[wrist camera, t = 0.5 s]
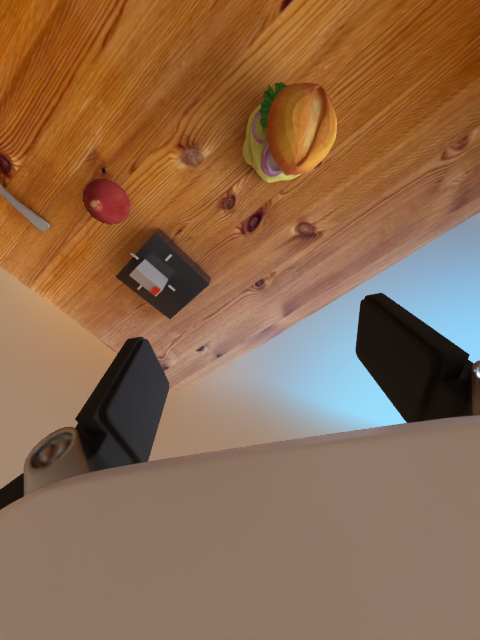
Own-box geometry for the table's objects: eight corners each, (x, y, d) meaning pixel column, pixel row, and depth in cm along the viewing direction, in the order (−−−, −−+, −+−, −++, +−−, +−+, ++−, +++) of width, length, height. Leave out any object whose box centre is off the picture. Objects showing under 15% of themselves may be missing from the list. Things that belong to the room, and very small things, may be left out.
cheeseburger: (230, 110, 31) (254, 74, 22) (300, 89, 32) (349, 47, 23) (248, 192, 36) (274, 189, 27) (308, 172, 37) (351, 162, 28)
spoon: (-25, 145, 31) (-38, 144, 30) (57, 222, 38) (49, 225, 36) (-37, 158, 32) (-50, 158, 31) (45, 232, 39) (38, 235, 37)
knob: (138, 265, 38) (128, 275, 34) (145, 258, 38) (135, 268, 34) (162, 285, 41) (155, 297, 37) (168, 279, 40) (162, 290, 36)
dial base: (119, 268, 42) (111, 274, 39) (156, 225, 38) (151, 229, 35) (173, 311, 47) (169, 319, 44) (210, 278, 43) (209, 284, 41)
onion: (116, 226, 38) (92, 237, 31) (90, 190, 35) (57, 194, 28) (144, 209, 37) (125, 216, 30) (119, 171, 34) (92, 169, 27)
